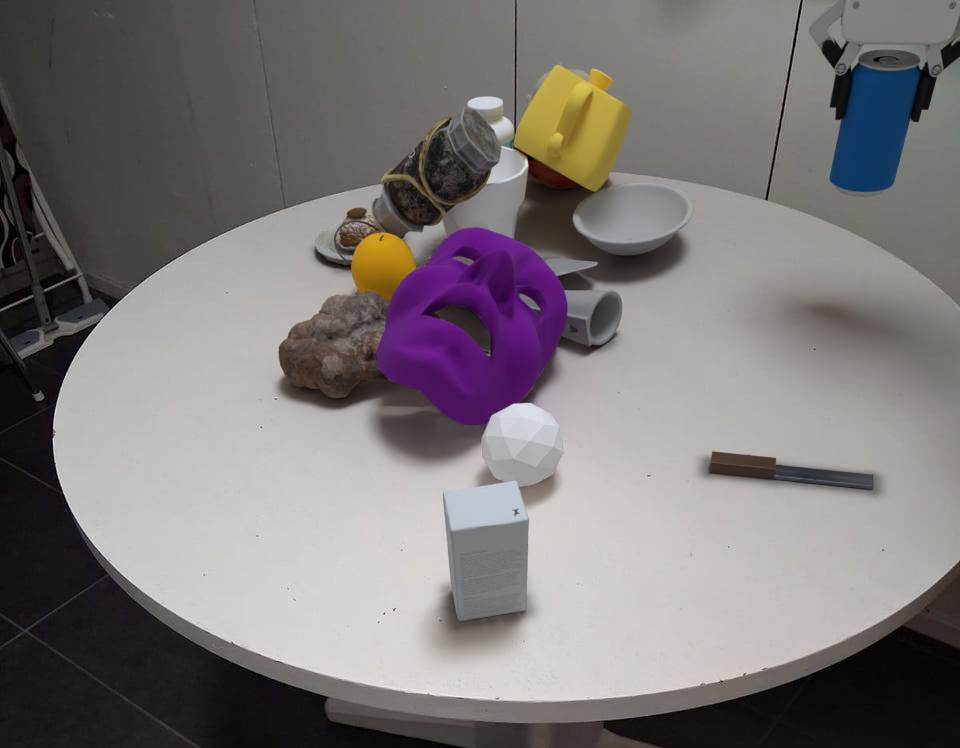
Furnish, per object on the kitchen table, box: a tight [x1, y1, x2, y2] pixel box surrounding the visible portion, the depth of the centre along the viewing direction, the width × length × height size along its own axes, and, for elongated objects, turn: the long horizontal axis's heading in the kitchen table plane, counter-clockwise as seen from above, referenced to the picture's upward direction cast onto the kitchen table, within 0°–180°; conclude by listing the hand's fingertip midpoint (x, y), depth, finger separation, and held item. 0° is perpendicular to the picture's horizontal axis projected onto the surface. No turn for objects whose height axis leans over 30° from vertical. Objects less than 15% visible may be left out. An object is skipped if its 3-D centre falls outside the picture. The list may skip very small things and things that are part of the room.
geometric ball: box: [481, 402, 565, 488], centre depth 89 cm, size 8×8×8 cm
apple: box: [350, 233, 417, 303], centre depth 115 cm, size 8×8×8 cm
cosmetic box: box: [442, 481, 530, 622], centre depth 76 cm, size 6×4×12 cm
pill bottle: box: [466, 96, 515, 150], centre depth 127 cm, size 8×7×14 cm
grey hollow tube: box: [518, 289, 623, 347], centre depth 111 cm, size 6×6×19 cm
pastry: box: [314, 207, 405, 266], centre depth 125 cm, size 12×12×5 cm
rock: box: [277, 291, 442, 399], centre depth 104 cm, size 18×12×10 cm, turn 108°
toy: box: [514, 61, 590, 190], centre depth 132 cm, size 15×15×15 cm
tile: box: [543, 258, 598, 277], centre depth 114 cm, size 20×11×1 cm, turn 124°
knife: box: [709, 450, 875, 490], centre depth 90 cm, size 15×2×1 cm, turn 76°
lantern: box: [334, 106, 502, 265], centre depth 114 cm, size 9×8×25 cm
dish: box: [572, 181, 694, 256], centre depth 120 cm, size 18×14×5 cm
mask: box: [377, 228, 568, 427], centre depth 94 cm, size 17×15×25 cm
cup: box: [441, 146, 528, 266], centre depth 119 cm, size 12×12×11 cm
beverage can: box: [829, 48, 921, 198], centre depth 95 cm, size 6×6×12 cm
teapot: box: [514, 64, 632, 193], centre depth 119 cm, size 20×12×12 cm
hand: (876, 114), depth 94 cm, fingers closed on beverage can, 6 cm apart
